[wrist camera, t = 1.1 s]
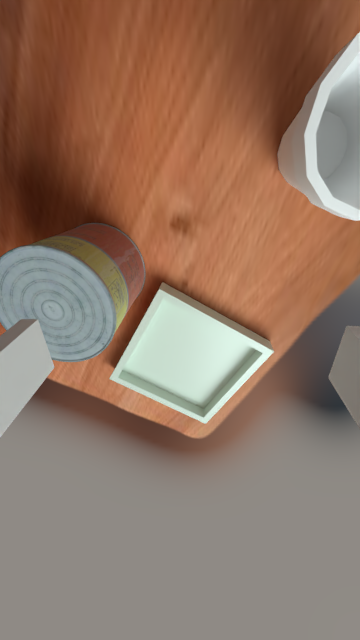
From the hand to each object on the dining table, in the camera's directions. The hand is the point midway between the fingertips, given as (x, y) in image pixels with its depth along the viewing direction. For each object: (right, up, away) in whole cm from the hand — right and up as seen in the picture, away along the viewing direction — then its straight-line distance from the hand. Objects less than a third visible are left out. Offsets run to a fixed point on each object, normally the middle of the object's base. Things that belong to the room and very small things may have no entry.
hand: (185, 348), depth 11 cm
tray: (+1, -4, +27) cm, 27 cm away
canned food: (-10, +8, +22) cm, 25 cm away
